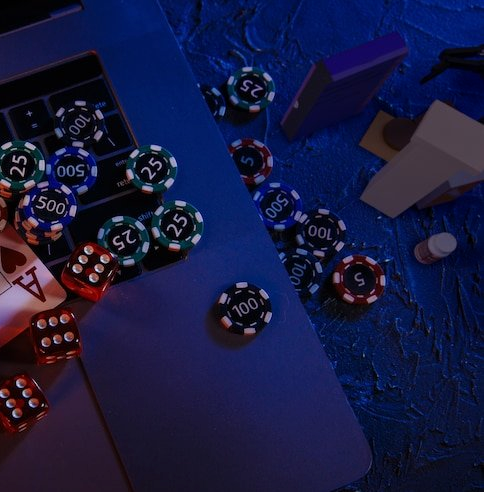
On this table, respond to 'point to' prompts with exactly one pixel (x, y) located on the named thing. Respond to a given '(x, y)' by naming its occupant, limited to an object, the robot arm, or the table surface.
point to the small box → (450, 189)
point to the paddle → (403, 130)
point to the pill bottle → (435, 248)
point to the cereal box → (343, 85)
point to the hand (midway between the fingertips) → (443, 105)
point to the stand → (428, 160)
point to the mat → (378, 138)
